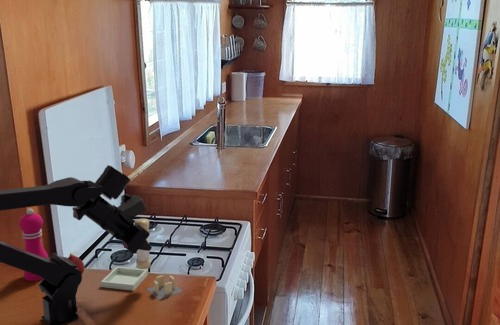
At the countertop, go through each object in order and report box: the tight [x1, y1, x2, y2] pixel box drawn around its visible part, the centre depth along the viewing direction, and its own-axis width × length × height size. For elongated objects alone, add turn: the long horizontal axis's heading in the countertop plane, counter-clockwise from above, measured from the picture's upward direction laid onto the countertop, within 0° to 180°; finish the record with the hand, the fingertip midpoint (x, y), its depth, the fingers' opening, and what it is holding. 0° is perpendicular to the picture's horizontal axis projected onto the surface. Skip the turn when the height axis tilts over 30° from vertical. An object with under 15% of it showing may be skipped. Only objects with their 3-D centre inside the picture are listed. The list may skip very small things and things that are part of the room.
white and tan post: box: [134, 218, 151, 270], centre depth 127 cm, size 4×4×12 cm
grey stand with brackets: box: [146, 274, 184, 300], centre depth 127 cm, size 7×7×4 cm
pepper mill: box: [18, 208, 50, 282], centre depth 136 cm, size 7×7×20 cm
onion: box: [67, 252, 85, 275], centre depth 135 cm, size 6×6×8 cm
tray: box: [100, 266, 149, 292], centre depth 133 cm, size 9×9×3 cm
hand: (147, 246), depth 128 cm, fingers closed on white and tan post, 3 cm apart
